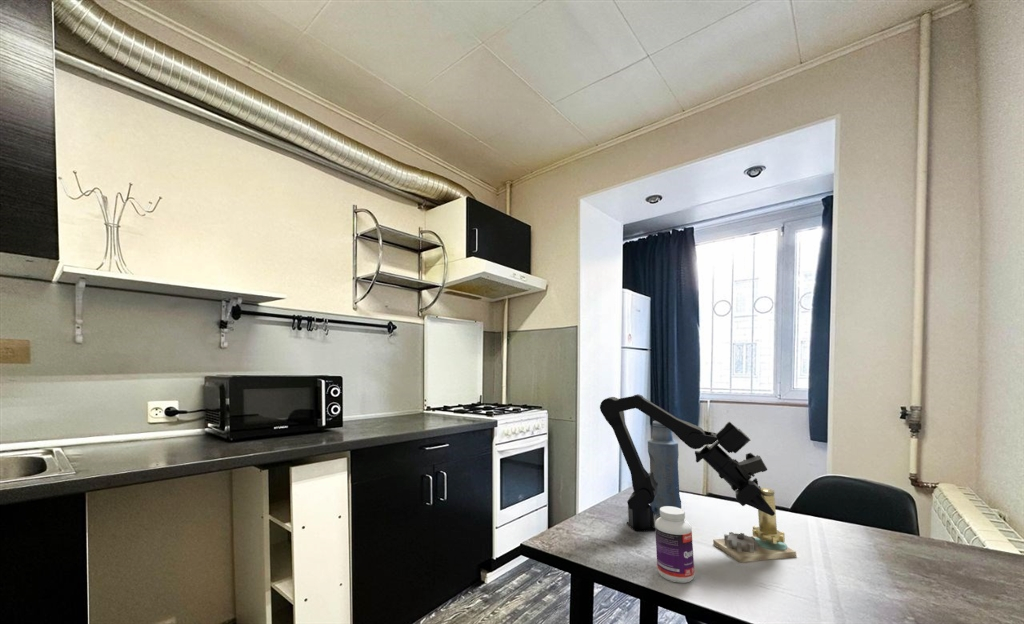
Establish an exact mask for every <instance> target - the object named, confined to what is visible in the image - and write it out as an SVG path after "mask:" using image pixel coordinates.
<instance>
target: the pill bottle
mask: <svg viewBox="0 0 1024 624" xmlns="http://www.w3.org/2000/svg"><path fill="white" fill-rule="evenodd" d="M659 516H660V517H658V518H657V519H655V521H654V527H655V530H654V532H655V549H656V551H655V552H656V566H657V572H658V574H659V575H660V576H661V577H662V578H664V579H665V580H667V581H670V582H674V583H682V584H684V583H690V582H691V581H693V579H694V578H695V560H694V545H693V544H694V543H693V531H692V525H691V524H690V522H688V520H687V519H686V520H685V518H686V513H685V510H684V509H682V508H681V509H680V508H677V507H672V506H664V507H661V508H660V515H659Z"/></svg>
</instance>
